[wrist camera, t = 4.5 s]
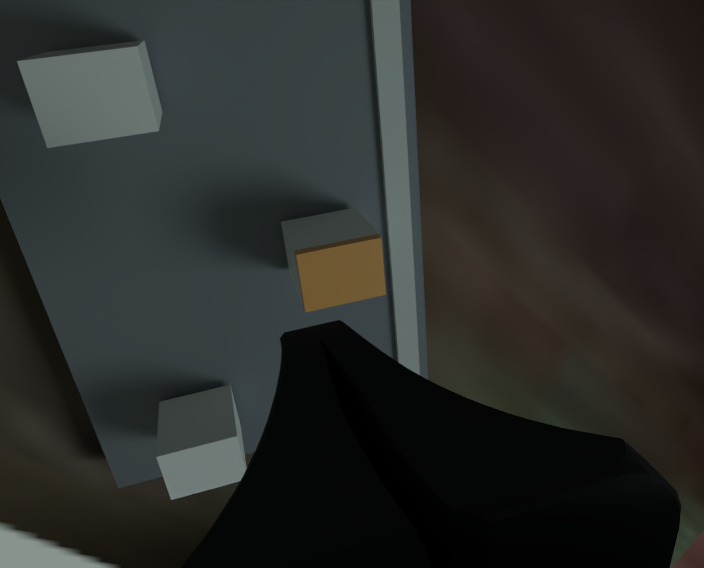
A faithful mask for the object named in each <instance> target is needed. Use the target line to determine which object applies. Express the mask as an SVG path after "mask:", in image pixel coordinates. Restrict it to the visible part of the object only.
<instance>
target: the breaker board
mask: <svg viewBox="0 0 704 568" xmlns="http://www.w3.org/2000/svg"><path fill="white" fill-rule="evenodd" d="M141 40H145V44H146V48H147V52H148V56H149V60H150V64H151V68H152V72H153V76H154V80H155V84H156V88H157V92H158V96H159V100H160V104H161V108H162V117H161V123H160V128H159V131H156V132H150V133H143V134H137V135H130V136H124V137H117V138H111V139H104V140H98V141H91V142H84V143H78V144H71V145H65V146H58V147H52V148H47V146H46V143H45V140H44V137H43V134H42V131H41V129H40V126H39V123H38V120H37V117H36V114H35V111H34V109H33V106H32V103H31V100H30V97H29V94H28V92H27V89H26V86H25V83H24V80H23V77H22V75H21V72H20V69H19V66H18V63H17V61H19V60H22V59H25V58H29V57H32V56H35V55H38V54H41V53H44V52H51V51H60V50H68V49H76V48H84V47H92V46H100V45H109V44H117V43H125V42H133V41H141ZM0 199H1V202H2V204H3V206H4V209H5V211H6V214H7V216H8V219H9V221H10V224H11V226H12V229H13V231H14V233H15V236H16V238H17V241H18V243H19V246H20V248H21V251H22V253H23V256H24V258H25V260H26V263H27V265H28V268H29V270H30V273H31V275H32V278H33V280H34V282H35V285H36V287H37V290H38V292H39V295H40V297H41V300H42V302H43V305H44V307H45V309H46V312H47V314H48V317H49V319H50V322H51V324H52V327H53V329H54V332H55V334H56V336H57V339H58V341H59V344H60V346H61V349H62V351H63V354H64V356H65V359H66V361H67V363H68V366H69V368H70V371H71V373H72V376H73V378H74V381H75V383H76V386H77V388H78V390H79V393H80V395H81V398H82V400H83V403H84V405H85V408H86V410H87V413H88V415H89V417H90V420H91V422H92V425H93V427H94V430H95V432H96V435H97V437H98V440H99V442H100V444H101V447H102V449H103V452H104V454H105V457H106V459H107V462H108V464H109V466H110V469H111V471H112V474H113V476H114V479H115V481H116V484H117V486H118V488H121V487H125V486H129V485H133V484H136V483H140V482H144V481H148V480H152V479H155V478H159V477H163V475H162V472H161V470H160V467H159V464H158V461H157V458H156V450H157V433H158V415H159V402H161V401H165V400H169V399H173V398H177V397H181V396H185V395H190V394H194V393H198V392H202V391H206V390H210V389H214V388H219V387H223V386H227V385H231V389H232V393H233V397H234V401H235V405H236V409H237V413H238V417H239V421H240V425H241V432H242V439H243V446H244V453H245V455H246V454H249V453H253V452H255V451H256V448H257V446H258V443H259V441H260V439H261V436H262V434H263V431H264V428H265V425H266V423H267V420H268V417H269V413H270V410H271V406H272V403H273V399H274V396H275V392H276V388H277V382H278V377H279V372H280V365H281V353H282V349H281V342H280V337H281V336H282V335H283V333H284V332H288V331H293V330H297V329H301V328H306V327H310V326H315V325H319V324H323V323H328V322H332V321H337V320H341V321H342V322H344V323H345V324H347V325H348V326H349V327H351V328H352V329H353V330H354V331H356V332H357V333H358V334H359V335H361V336H362V337H363V338H365V339H366V340H367V341H369V342H370V343H371V344H373V345H374V346H375V347H377V348H378V349H380V350H381V351H382V352H384V353H385V354H387V355H388V356H390V357H391V358H393V359H394V360H396V361H397V362H399V363H400V364H402V365H403V366H405V367H406V368H408V369H410V370H411V371H413V372H415V373H417V374H418V375H420V376H422V377H424V378H425V379H427V380H428V364H427V343H426V322H425V300H424V279H423V258H422V236H421V215H420V194H419V173H418V151H417V130H416V109H415V87H414V66H413V45H412V24H411V2H410V0H0ZM350 208H356V209H357V210H358V211H359V212H360V214H361V215H362V216H363V217H364V218H365V219H366V220H367V222H368V223H369V224H370V225H371V226H372V227H373V229H374V230H375V231H376V232H377V233H378V234H379V235H380V237H381V239H382V251H383V263H384V275H385V287H386V295H382V296H378V297H373V298H369V299H364V300H360V301H355V302H351V303H346V304H342V305H337V306H333V307H328V308H324V309H319V310H315V311H310V312H306V313H305V310H304V308H303V305H302V303H301V300H300V298H299V295H298V293H297V291H296V288H295V286H294V283H293V281H292V278H291V276H290V273H289V267H288V261H287V255H286V249H285V244H284V238H283V232H282V226H281V222H282V221H287V220H292V219H298V218H303V217H308V216H313V215H319V214H324V213H329V212H335V211H340V210H345V209H350Z"/></svg>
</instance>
